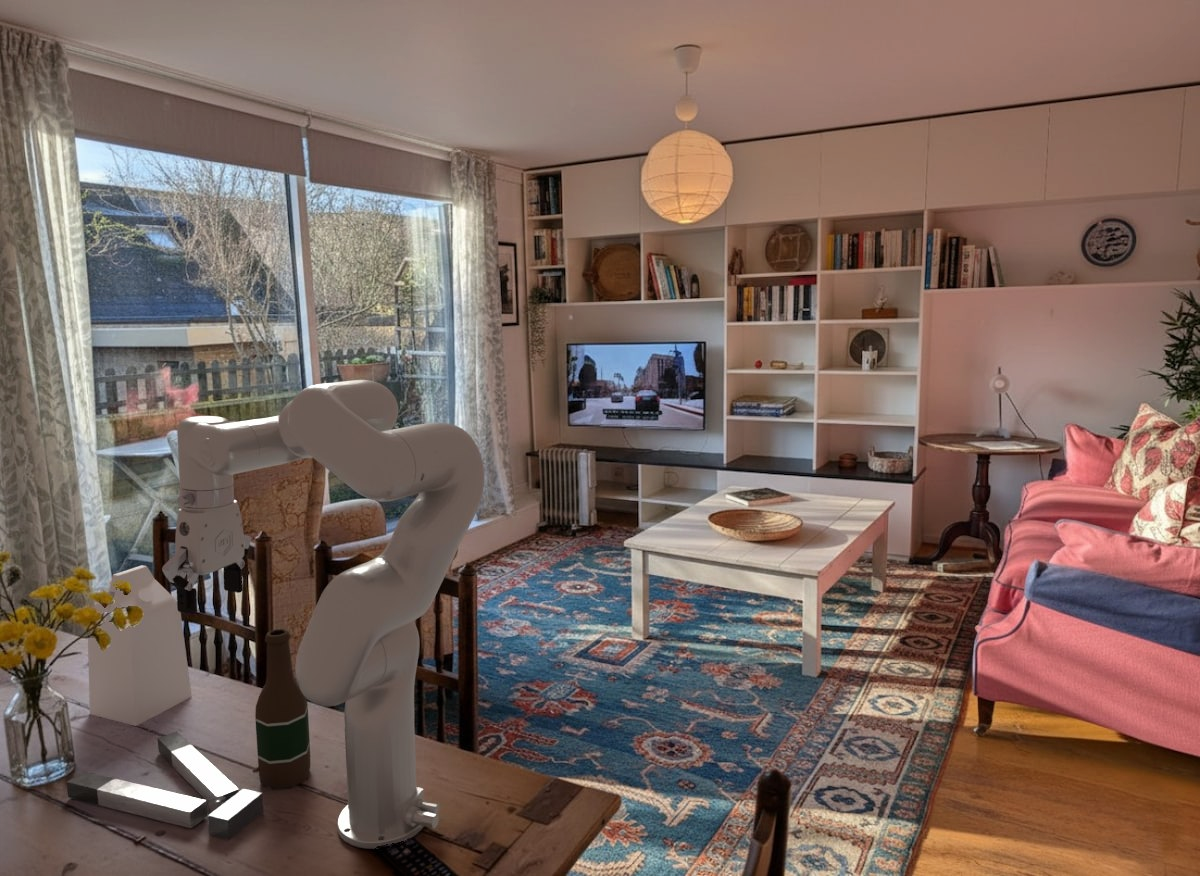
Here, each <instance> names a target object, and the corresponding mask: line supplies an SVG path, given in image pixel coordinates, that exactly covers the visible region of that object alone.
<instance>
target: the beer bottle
mask: <svg viewBox="0 0 1200 876" xmlns="http://www.w3.org/2000/svg"><path fill="white" fill-rule="evenodd" d="M290 639H291V633H290V630H287V629H285V628H279V629H276V628H275V629H273V630H271V631H267V633H266V634H265V638H264V642H265V643H266V678H265V684H264V686H263V688H262V689H261V691H260V693H259V695H258V699H257V702H256V704H255V714H254V715H255V716H254V717H255V732H256V733H255V735H256V749H257V764H258V766H257V767H258V776H259V782H260V784H261V785H262V786H265V787H266V788H268V789H270V790H271V791H273V790H274V791H275V790H276V791H277V790H285V789H292V788H294V787H296V786H298V785H299V784H301V783H303V782H305V781H306V780H308V777H309V774H310V769H311V744H310V742H311V741H310V724H309V706H308V699H307V698H306V697H305V696H304V695H303V693H302V692H301V690H300V688H299V685H298V683H297V679H296V676H295V673H294V671H293V662H292V656H291V655H292V654H291V646H290Z"/></svg>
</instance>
